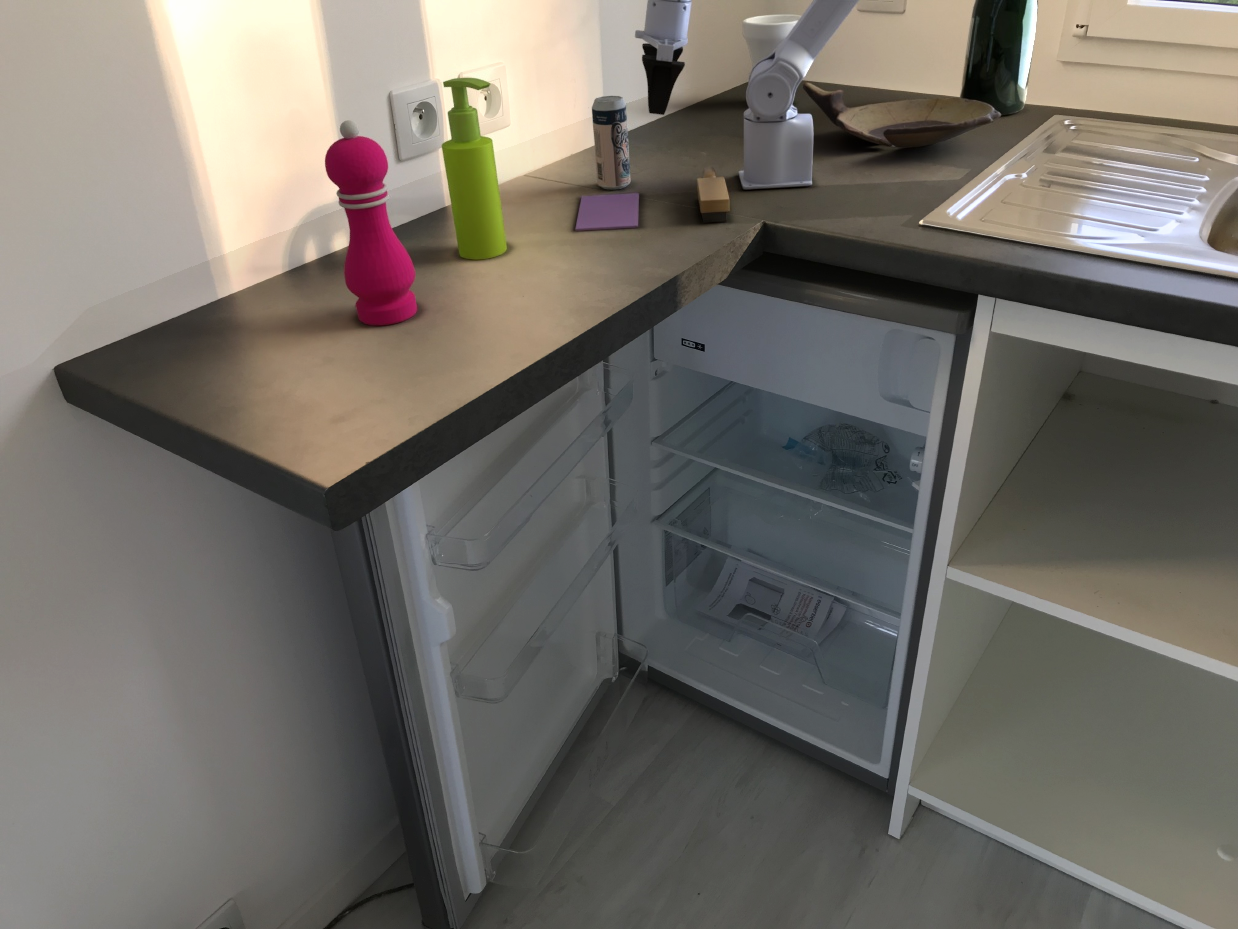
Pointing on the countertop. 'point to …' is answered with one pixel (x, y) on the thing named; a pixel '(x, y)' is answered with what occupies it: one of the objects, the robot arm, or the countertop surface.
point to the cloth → (608, 212)
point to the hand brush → (712, 196)
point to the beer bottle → (1000, 53)
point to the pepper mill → (370, 231)
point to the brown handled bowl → (904, 118)
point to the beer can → (611, 142)
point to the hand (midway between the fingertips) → (656, 106)
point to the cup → (766, 34)
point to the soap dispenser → (472, 178)
